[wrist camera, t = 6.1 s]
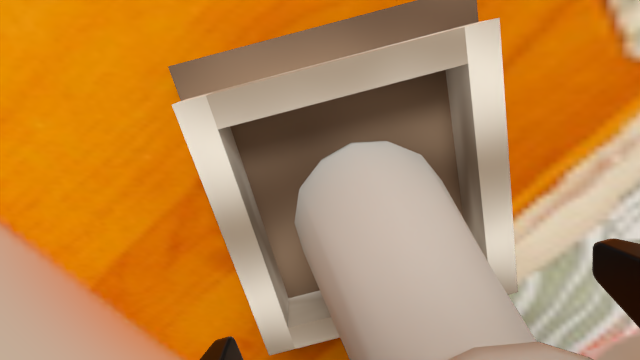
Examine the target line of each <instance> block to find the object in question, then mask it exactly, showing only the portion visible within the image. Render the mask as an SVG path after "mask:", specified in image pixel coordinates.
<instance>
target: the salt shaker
mask: <svg viewBox="0 0 640 360" xmlns="http://www.w3.org/2000/svg"><path fill="white" fill-rule="evenodd" d="M294 223H295V226H296V229H297V233H298V236H299V239H300V242H301V245H302V249H303V252H304V254H305V257H306V259H307V261H308V264H309V266H310V268H311V271H312V273H313V275H314V278H315V280H316V282H317V285H318V287H319V289H320V292H321V294H322V296H323V299H324V301H325V303H326V306H327V308H328V310H329V313H330V315H331V317H332V319H333V322H334V324H335V326H336V329H337V331H338V333H339V336H340V338H341V340H342V343H343V345H344V347H345V350H346V352H347V354H348V357H349V359H350V360H593V359H591V358H589V357H586V356H583V355H579V354H576V353H573V352H570V351H567V350H563V349H560V348H557V347H554V346H550V345H547V344H544V343H541V342H537V341H536V339H535V338H534V336H533V335H532V333H531V331H530V330H529V328H528V327H527V325H526V323H525V322H524V320H523V318H522V317H521V315H520V314H519V312H518V310H517V309H516V307H515V306H514V304H513V302H512V301H511V299H510V297H509V296H508V294H507V293H506V291H505V289H504V288H503V286H502V284H501V283H500V281H499V280H498V278H497V276H496V275H495V273H494V271H493V270H492V268H491V266H490V264H489V263H488V261H487V259H486V257H485V256H484V254H483V252H482V250H481V249H480V247H479V245H478V243H477V241H476V240H475V238H474V236H473V234H472V233H471V231H470V229H469V227H468V226H467V224H466V222H465V220H464V219H463V217H462V215H461V213H460V212H459V210H458V208H457V206H456V205H455V203H454V201H453V199H452V198H451V196H450V194H449V192H448V191H447V189H446V187H445V185H444V184H443V182H442V180H441V179H440V178H439V176H438V175H437V174H436V173H435V171H434V170H433V169H432V168H431V166H430V165H429V164H428V163H427V161H426V160H425V159H424V157H423V156H422V155H420V154H418V153H416V152H413V151H411V150H408V149H406V148H403V147H401V146H398V145H396V144H393V143H391V142H388V141H374V142H355V143H350V144H348V145H346V146H344V147H343V148H341V149H339V150H337V151H336V152H334V153H332V154H330V155H329V156H327V157H325V158H323V159H322V160H321V161H320V162H319V163H318V165H317V166H316V167H315V169H314V170H313V171H312V172H311V174H310V175H309V176H308V178H307V179H306V180H305V182H304V183H303V184H302V185H301V187H300V189H299V194H298V201H297V208H296V215H295V222H294Z"/></svg>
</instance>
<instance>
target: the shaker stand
mask: <svg viewBox="0 0 640 360" xmlns="http://www.w3.org/2000/svg"><path fill="white" fill-rule="evenodd" d="M169 70H170V73H171V75H172V78H173V81H174V83H175V86H176V89H177V91H178V94H179V97H180V99H181V101H180V102H177V103H175V104H172V107H173V109H174V112H175V114H176V117H177V120H178V122H179V125H180V127H181V130H182V132H183V135H184V138H185V140H186V143H187V145H188V148H189V150H190V153H191V156H192V158H193V161H194V163H195V166H196V168H197V171H198V174H199V176H200V179H201V181H202V184H203V186H204V189H205V192H206V194H207V197H208V199H209V202H210V204H211V207H212V210H213V212H214V215H215V217H216V220H217V222H218V225H219V228H220V230H221V233H222V235H223V238H224V240H225V243H226V245H227V248H228V251H229V253H230V256H231V258H232V261H233V263H234V266H235V269H236V271H237V274H238V276H239V279H240V281H241V284H242V287H243V289H244V292H245V294H246V297H247V299H248V302H249V305H250V307H251V310H252V312H253V315H254V317H255V320H256V323H257V325H258V328H259V330H260V333H261V335H262V338H263V341H264V343H265V346H266V348H267V351H268V353H269V355H273V354H277V353H281V352H285V351H289V350H293V349H296V348H300V347H304V346H308V345H312V344H316V343H320V342H324V341H328V340H332V339H336V338H340V336H339V333H338V331H337V329H336V326H335V324H334V322H333V319H332V317H331V315H330V313H329V310H328V308H327V306H326V303H325V301H324V299H323V296H322V294H321V292H320V289H319V287H318V285H317V282H316V280H315V278H314V275H313V273H312V271H311V268H310V266H309V264H308V261H307V259H306V257H305V254H304V252H303V249H302V245H301V242H300V239H299V236H298V233H297V229H296V226H295V223H294V222H295V215H296V208H297V201H298V194H299V189H300V187H301V185H302V184H303V183H304V182H305V180H306V179H307V178H308V176H309V175H310V174H311V172H312V171H313V170H314V169H315V167H316V166H317V165H318V163H319V162H320V161H321V160H322V159H323V158H325V157H327V156H329V155H330V154H332V153H334V152H336V151H337V150H339V149H341V148H343V147H344V146H346V145H348V144H350V143H355V142H374V141H388V142H391V143H393V144H396V145H398V146H401V147H403V148H406V149H408V150H411V151H413V152H416V153H418V154H420V155H422V156H423V157H424V159H425V160H426V161H427V163H428V164H429V165H430V166H431V168H432V169H433V170H434V171H435V173H436V174H437V175H438V176H439V178H440V179H441V180H442V182H443V184H444V185H445V187H446V189H447V191H448V192H449V194H450V196H451V198H452V199H453V201H454V203H455V205H456V206H457V208H458V210H459V212H460V213H461V215H462V217H463V219H464V220H465V222H466V224H467V226H468V227H469V229H470V231H471V233H472V234H473V236H474V238H475V240H476V241H477V243H478V245H479V247H480V249H481V250H482V252H483V254H484V256H485V257H486V259H487V261H488V263H489V264H490V266H491V268H492V270H493V271H494V273H495V275H496V276H497V278H498V280H499V281H500V283H501V284H502V286H503V288H504V289H505V291H506V293H507V294H512V293H516V292H518V287H517V272H516V258H515V243H514V228H513V213H512V198H511V183H510V168H509V153H508V138H507V123H506V108H505V93H504V78H503V63H502V48H501V33H500V19H499V18H496V19H491V20H486V21H481V22H478V12H477V0H417V1H413V2H409V3H405V4H402V5H398V6H394V7H390V8H387V9H383V10H379V11H375V12H372V13H368V14H364V15H360V16H357V17H353V18H349V19H345V20H342V21H338V22H334V23H330V24H327V25H323V26H319V27H315V28H311V29H308V30H304V31H300V32H296V33H293V34H289V35H285V36H281V37H278V38H274V39H270V40H266V41H263V42H259V43H255V44H251V45H248V46H244V47H240V48H236V49H233V50H229V51H225V52H221V53H218V54H214V55H210V56H206V57H202V58H199V59H195V60H191V61H187V62H184V63H180V64H176V65H172V66H169Z"/></svg>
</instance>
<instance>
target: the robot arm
mask: <svg viewBox="0 0 640 360" xmlns="http://www.w3.org/2000/svg"><path fill="white" fill-rule="evenodd" d="M592 270H593V275H594V277H595V279H596V280H597V282H598V283H599V284H600V285H601V286H602V287H603V288H604V289H605V290H606V292H607V293H608V294H609V295H610V296H611V297H612V298H613V299H614V300H615V301H616V303H617V304H618V305H619V306H620V307H621V308H622V309H623V310H624V311H625V312H626V314H627V315H628V316H629V317H630V318H631V319H632V320H633V321H634V322H635V323H636V325H637V326H638V327H639V328H640V244H638V243H633V242H629V241H624V240H619V239H607V240H604V241H600V242H597V243H595V244H594V246H593V267H592ZM200 360H243V358H242V356H241V353H240V351H239V348H238V346H237V344H236V341H235V339H234V338H233V337H225V338H221V339H218V340H216V341H215V342H214V343H213V344H212V345H211V346H210V347H209V349H208V350H207V351H206V352H205V354H204V355H203V356H202V357H201V359H200Z"/></svg>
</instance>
